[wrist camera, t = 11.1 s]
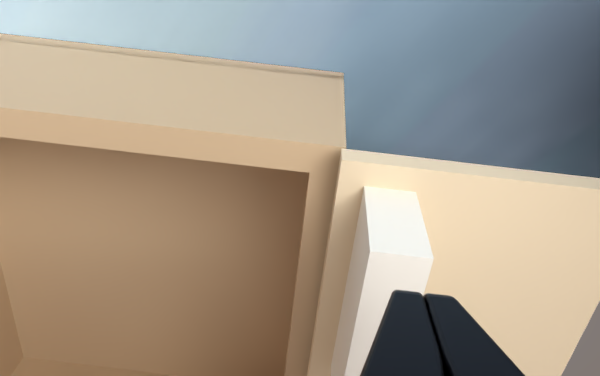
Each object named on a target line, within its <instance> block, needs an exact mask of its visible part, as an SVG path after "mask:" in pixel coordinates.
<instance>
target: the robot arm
mask: <svg viewBox="0 0 600 376" xmlns="http://www.w3.org/2000/svg"><path fill="white" fill-rule="evenodd" d="M360 376H525V375H524V374H523V372H522V371H521V370H520V369H519V368H518V367H517V366H516V365H515V364H514V362H513V361H512V360H511V359H510V358H509V357H508V356H507V355H506V354H505V353H504V351H503V350H502V349H501V348H500V347H499V346H498V345H497V344H496V343H495V341H494V340H493V339H492V338H491V337H490V336H489V335H488V334H487V333H486V331H485V330H484V329H483V328H482V327H481V326H480V325H479V324H478V323H477V322H476V320H475V319H474V318H473V317H472V316H471V315H470V314H469V313H468V312H467V310H466V309H465V308H464V307H463V306H462V305H461V304H460V303H459V302H458V300H457V299H455V298H454V297H452V296H449V295H441V294H433V293H426V294H424V295H422V294H421V293H419V292H415V291H406V290H394V291H393V292H392V294H391V296H390V299H389V301H388V304H387V307H386V309H385V312H384V314H383V317H382V320H381V322H380V325H379V327H378V330H377V333H376V335H375V338H374V340H373V343H372V346H371V348H370V351H369V353H368V356H367V359H366V361H365V364H364V366H363V369H362V372H361V374H360Z"/></svg>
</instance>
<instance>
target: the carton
mask: <svg viewBox="0 0 600 376" xmlns="http://www.w3.org/2000/svg"><path fill="white" fill-rule="evenodd" d="M341 148H342V149H346V127H345V100H344V73H340V72H331V71H323V70H314V69H305V68H297V67H288V66H279V65H270V64H262V63H253V62H244V61H236V60H227V59H218V58H209V57H201V56H192V55H183V54H175V53H166V52H157V51H149V50H140V49H131V48H122V47H114V46H105V45H96V44H88V43H79V42H70V41H62V40H53V39H44V38H35V37H27V36H18V35H9V34H1V33H0V376H307V371H308V365H309V358H310V352H311V345H312V338H313V332H314V325H315V319H316V312H317V306H318V299H319V293H320V286H321V279H322V273H323V266H324V260H325V253H326V247H327V240H328V234H329V227H330V220H331V214H332V207H333V201H334V194H335V188H336V181H337V175H338V168H339V161H340V155H341Z"/></svg>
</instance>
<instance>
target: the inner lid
mask: <svg viewBox="0 0 600 376" xmlns="http://www.w3.org/2000/svg"><path fill="white" fill-rule="evenodd" d="M394 290H406V291H415V292H419V293H421V294H422V295H424V294H426V293H433V294H441V295H449V296H452V297H454V298H455V299H457V300H458V302H459V303H460V304H461V305H462V306H463V307H464V308H465V309H466V310H467V312H468V313H469V314H470V315H471V316H472V317H473V318H474V319H475V320H476V322H477V323H478V324H479V325H480V326H481V327H482V328H483V329H484V330H485V331H486V333H487V334H488V335H489V336H490V337H491V338H492V339H493V340H494V341H495V343H496V344H497V345H498V346H499V347H500V348H501V349H502V350H503V351H504V353H505V354H506V355H507V356H508V357H509V358H510V359H511V360H512V361H513V362H514V364H515V365H516V366H517V367H518V368H519V369H520V370H521V371H522V372H523V374H524V375H525V376H561V375H562V373H563V371H564V369H565V367H566V365H567V363H568V361H569V360H570V357H571V356H572V353H573V352H574V350H575V348H576V346H577V344H578V342H579V340H580V338H581V336H582V334H583V332H584V330H585V328H586V326H587V324H588V322H589V321H590V319H591V316H592V315H593V313H594V311H595V309H596V307H597V305H598V303H599V301H600V178H593V177H584V176H576V175H567V174H558V173H550V172H541V171H533V170H524V169H515V168H507V167H498V166H489V165H481V164H472V163H463V162H455V161H446V160H437V159H429V158H420V157H412V156H403V155H394V154H386V153H377V152H368V151H360V150H351V149H342V148H341V155H340V161H339V168H338V175H337V181H336V188H335V194H334V201H333V207H332V214H331V220H330V227H329V234H328V240H327V247H326V253H325V260H324V266H323V273H322V279H321V286H320V293H319V299H318V306H317V312H316V319H315V325H314V332H313V338H312V345H311V352H310V358H309V365H308V371H307V376H360V374H361V372H362V369H363V366H364V364H365V361H366V359H367V356H368V353H369V351H370V348H371V346H372V343H373V340H374V338H375V335H376V333H377V330H378V327H379V325H380V322H381V320H382V317H383V314H384V312H385V309H386V307H387V304H388V301H389V299H390V296H391V294H392V292H393V291H394Z"/></svg>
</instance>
